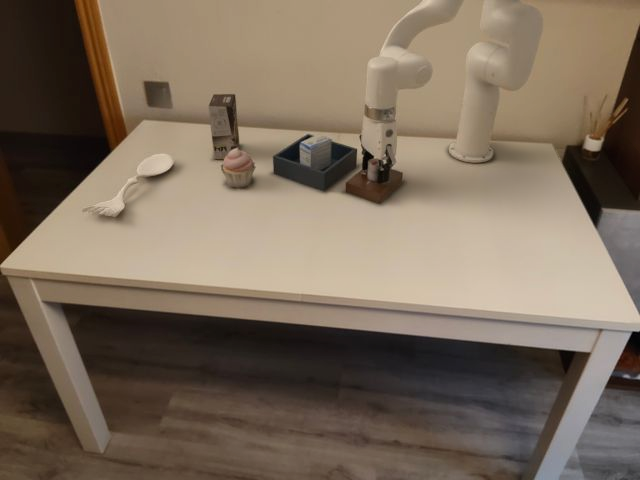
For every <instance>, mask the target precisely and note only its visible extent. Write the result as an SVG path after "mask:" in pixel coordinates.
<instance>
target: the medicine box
mask: <svg viewBox="0 0 640 480" xmlns="http://www.w3.org/2000/svg"><path fill="white" fill-rule="evenodd" d="M313 136H314V137H311V138H309V139H307V140H304V141H302V142H300V164H303V165H306V166H309V167H312V168H315V169H318V170H323V169H325V168H327V167H329V166H331V141H332V138H330V137H329V136H327V135H325V134H323V133H319V134H316V135H313Z"/></svg>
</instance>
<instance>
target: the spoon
mask: <svg viewBox="0 0 640 480" xmlns="http://www.w3.org/2000/svg"><path fill="white" fill-rule="evenodd" d="M173 165H174V157H173V156H171V155H170V154H167V153H155V154H152V155H150V156H148V157H146V158H145V159H143V160H142V161H141V162H140V163H139V164H138V165H137V168H136V173H137V174H136V175H135V176H133V177H130V178H128V179H127V180H126V183H125V184H124V185H123V186H122V188H121V189H120V190H119V192H118V193H117V195H115V196H114V197H113V198H111V199H109V200H104V201H102V202H99V203H96V204H92V205H89V206H85V207H83V208H82V212H83V213H85V212H88V213H90V214H91V213H92V214H94V215H96V214H98V215H100V216H103V215H104V216H105V217H107V216H108V217H112V218H116V217H117V216H119V214H121V212H122V211H123V210H124V209H125V207H126V205H125V201H124V199H125V195H126V193H127V191H128V190H129V188H130V187H132V186H134V185H135V184H138V183H139V179H142V178H147V177H155V176H160V175H161V174H164V173H166V172H168V170H170V169H171V168H172V166H173Z"/></svg>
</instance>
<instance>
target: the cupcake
mask: <svg viewBox="0 0 640 480" xmlns="http://www.w3.org/2000/svg"><path fill="white" fill-rule="evenodd" d="M255 164H256V162H254V160H253V157H251V156H250V155H249V154H248V153H247V152H246V151H244V150H240V148H239V149H238V148H236V149H233V150H231V151H230V152H229V154H228V155H227V156H226V157H225V158H224V159H223V163H222V164H220V171H221V172H222V174H223V176H224V177H225V180H226V183H227V185H228V186H229V187H232V188H235V189H236V188H237V189H238V188H240V189H241V188H244V187H245V188H246V187H248V186H249V185H251V183H252V180H253V176H254V175H253V174H254V172H255V170H256V168H257V166H256V165H255Z"/></svg>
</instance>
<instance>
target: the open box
mask: <svg viewBox="0 0 640 480" xmlns="http://www.w3.org/2000/svg"><path fill="white" fill-rule="evenodd" d="M314 136H315V135H313V134H310V133H307V134H305V135H304V136H302V137H301V138H299V139H297V140H295V141H294V142H293V143H291V144H290V145H288V146H286V147H285V148H283V149H282V150H280V151H279V152H277V153H276V154H274V155H273V156H272V169H273V174H274V175H277V176H279V177H282V178H284V179H287V180H290V181H293V182H296V183H299V184H302V185H304V186H307V187H310V188H313V189H316V190H319V191H320V192H326V191H327V190H329V188H331V187H332V186H334V185H335V184H336V183H337V182H338V181H339V180H341V179H342V178H343V177H345V176H346V175H347V174H349V173H350V172H351V171H352V170H354V169H355V168H356V167H357V164H358V163H357V161H358V148H357V147H356V148H355V147H352V146H350V145H346V144H343V143H339V142H336V141H332V140H331V166H329V167H327V168H325V169H323V170H318V169H315V168H312V167H309V166H306V165H303V164H300V142H302V141H304V140H307V139H309V138H311V137H314Z"/></svg>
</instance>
